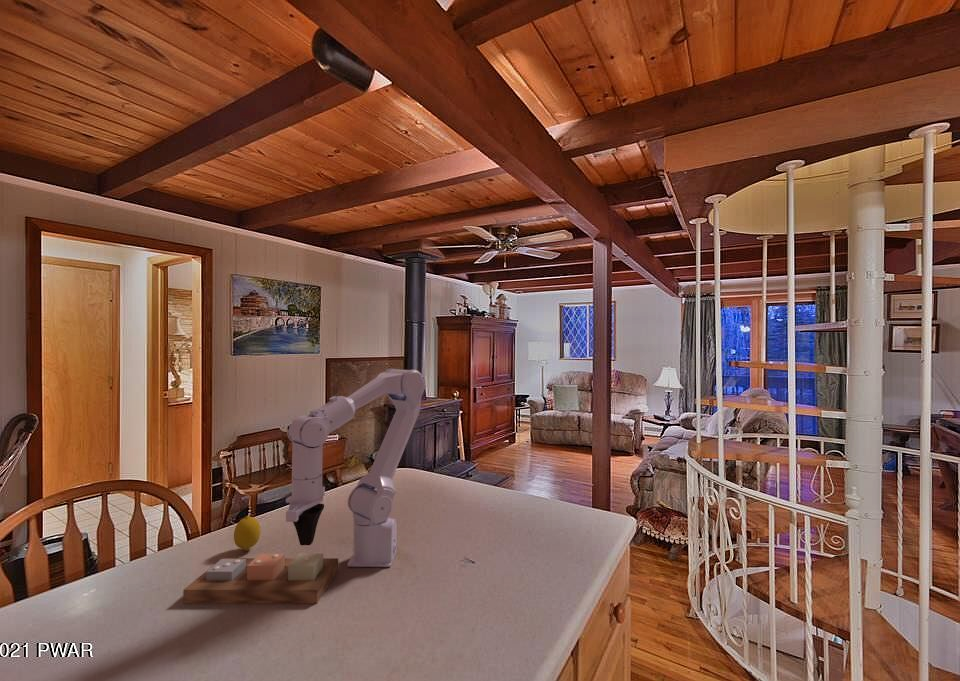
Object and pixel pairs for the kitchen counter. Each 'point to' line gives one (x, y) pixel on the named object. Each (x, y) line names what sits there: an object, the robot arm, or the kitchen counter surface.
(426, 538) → the kitchen counter surface
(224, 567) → the tile three
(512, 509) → the kitchen counter surface
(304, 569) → the tile one
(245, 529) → the lemon
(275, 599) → the button board
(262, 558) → the tile two
